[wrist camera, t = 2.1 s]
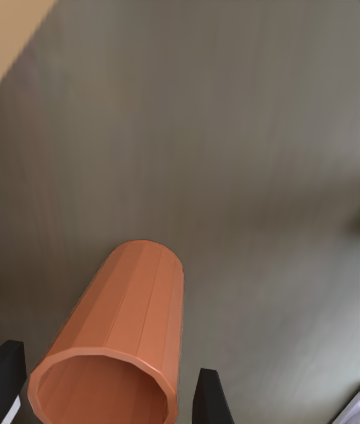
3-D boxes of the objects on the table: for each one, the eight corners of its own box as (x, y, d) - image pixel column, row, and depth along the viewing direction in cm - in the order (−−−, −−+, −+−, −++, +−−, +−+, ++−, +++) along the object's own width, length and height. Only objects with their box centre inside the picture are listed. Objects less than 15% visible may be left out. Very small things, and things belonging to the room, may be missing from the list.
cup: (195, 254, 16) (198, 374, 8) (170, 318, 17) (153, 465, 10) (113, 228, 15) (37, 328, 8) (96, 296, 17) (20, 431, 10)
